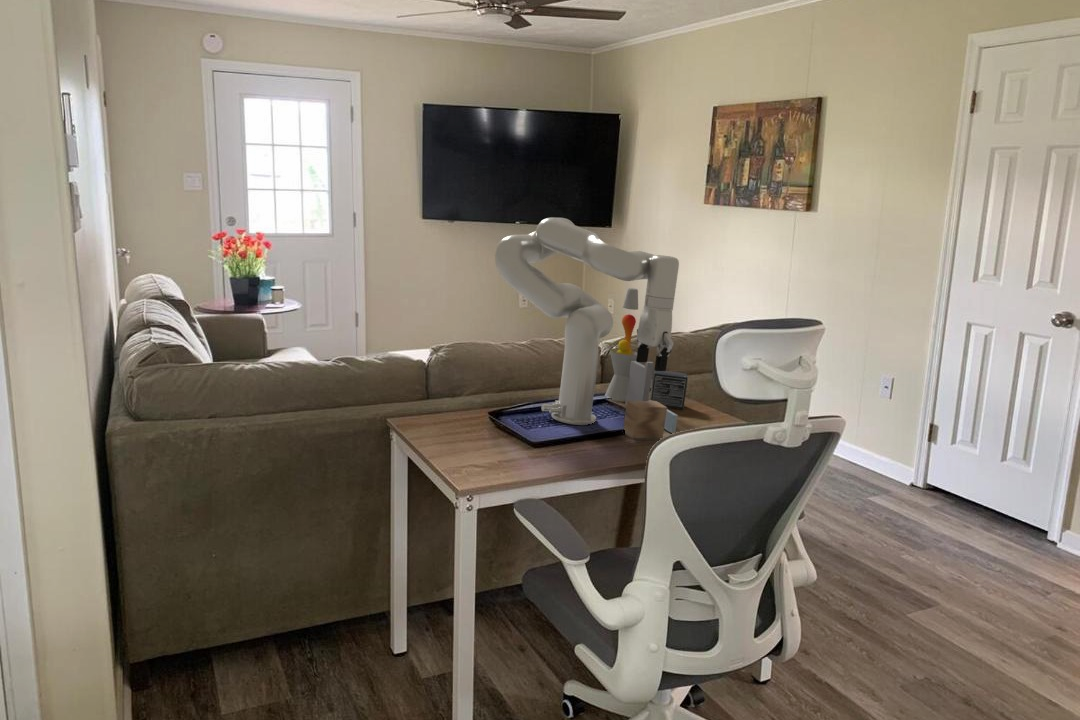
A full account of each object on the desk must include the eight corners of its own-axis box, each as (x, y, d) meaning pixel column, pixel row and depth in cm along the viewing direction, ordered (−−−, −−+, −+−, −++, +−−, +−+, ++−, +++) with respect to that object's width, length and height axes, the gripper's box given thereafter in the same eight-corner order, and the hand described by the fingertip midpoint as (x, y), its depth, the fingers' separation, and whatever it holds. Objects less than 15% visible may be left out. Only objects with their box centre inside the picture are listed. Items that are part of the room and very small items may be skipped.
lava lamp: (609, 392, 263) (623, 285, 255) (635, 397, 259) (651, 289, 252) (600, 397, 255) (614, 287, 247) (627, 403, 251) (642, 291, 244)
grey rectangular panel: (640, 415, 239) (647, 362, 236) (624, 405, 249) (631, 354, 245) (646, 415, 240) (653, 363, 237) (630, 405, 249) (637, 354, 246)
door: (671, 433, 223) (674, 415, 222) (645, 416, 237) (648, 399, 236) (678, 432, 224) (681, 415, 223) (652, 416, 238) (655, 399, 237)
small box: (682, 404, 257) (687, 372, 255) (683, 410, 251) (688, 377, 249) (649, 400, 258) (653, 368, 256) (649, 405, 252) (654, 373, 250)
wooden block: (632, 439, 215) (637, 407, 213) (622, 432, 220) (627, 400, 219) (662, 439, 218) (667, 407, 216) (651, 432, 224) (656, 401, 222)
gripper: (630, 297, 218) (622, 358, 222) (663, 308, 203) (654, 374, 207) (654, 298, 221) (646, 359, 225) (689, 309, 206) (679, 374, 210)
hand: (650, 366), depth 216 cm, fingers open, 9 cm apart
